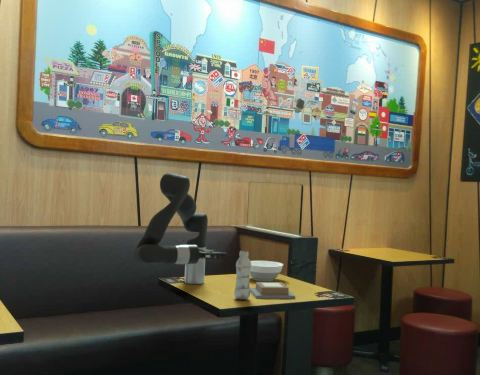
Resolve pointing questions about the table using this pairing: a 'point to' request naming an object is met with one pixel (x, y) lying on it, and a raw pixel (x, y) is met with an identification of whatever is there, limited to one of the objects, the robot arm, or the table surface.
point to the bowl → (265, 270)
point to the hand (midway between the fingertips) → (221, 253)
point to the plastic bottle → (242, 276)
